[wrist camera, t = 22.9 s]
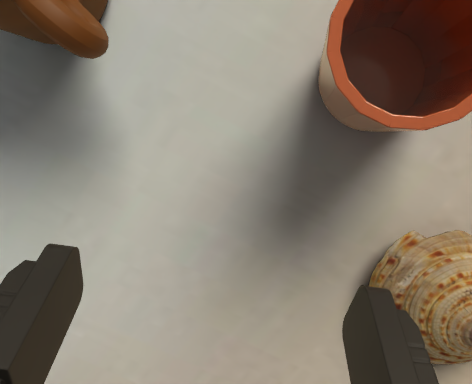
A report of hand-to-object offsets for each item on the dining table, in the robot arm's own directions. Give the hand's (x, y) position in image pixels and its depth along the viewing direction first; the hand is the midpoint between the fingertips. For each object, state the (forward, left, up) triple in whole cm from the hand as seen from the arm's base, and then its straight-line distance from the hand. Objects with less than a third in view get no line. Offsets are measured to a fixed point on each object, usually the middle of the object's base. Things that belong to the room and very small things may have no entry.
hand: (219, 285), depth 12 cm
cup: (+8, +5, -15) cm, 18 cm away
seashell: (+8, -9, -15) cm, 19 cm away
